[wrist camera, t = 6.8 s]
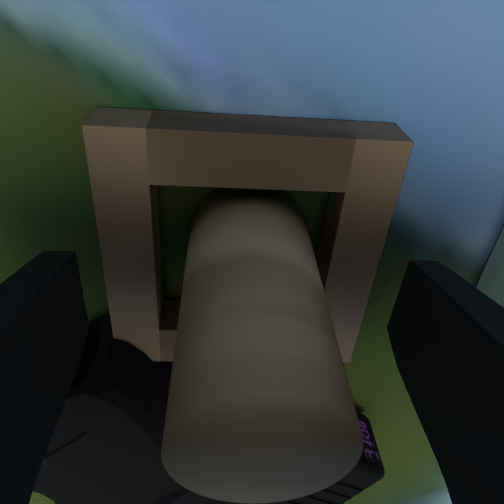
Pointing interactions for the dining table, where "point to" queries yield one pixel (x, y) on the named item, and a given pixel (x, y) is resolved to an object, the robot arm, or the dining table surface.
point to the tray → (494, 273)
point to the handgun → (140, 435)
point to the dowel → (256, 359)
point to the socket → (237, 176)
